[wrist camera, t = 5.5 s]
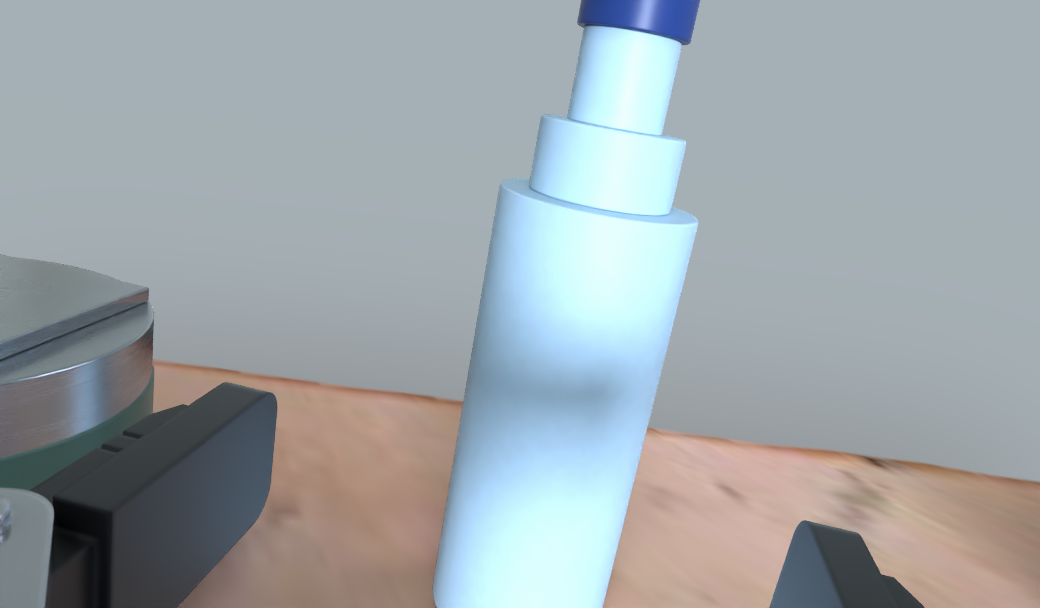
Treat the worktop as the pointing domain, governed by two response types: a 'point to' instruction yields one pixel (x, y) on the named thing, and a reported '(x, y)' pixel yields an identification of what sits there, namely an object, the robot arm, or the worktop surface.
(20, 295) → the tin
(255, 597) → the worktop surface
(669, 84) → the bottle
